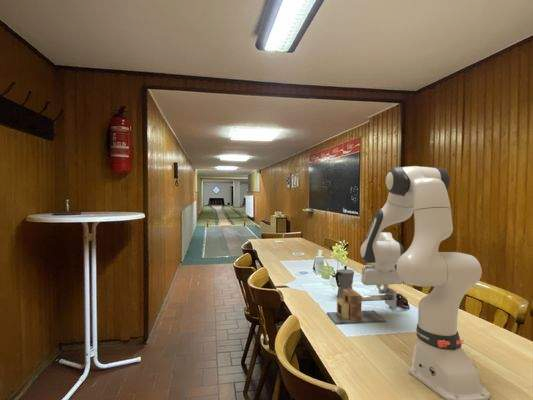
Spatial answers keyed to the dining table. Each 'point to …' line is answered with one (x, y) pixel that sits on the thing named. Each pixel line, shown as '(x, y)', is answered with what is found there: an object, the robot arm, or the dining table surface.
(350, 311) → the bearing block
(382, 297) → the shaft
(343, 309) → the tan flat block
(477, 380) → the robot arm
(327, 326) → the dining table surface
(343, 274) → the coffeepot
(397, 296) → the dark openwork dome
